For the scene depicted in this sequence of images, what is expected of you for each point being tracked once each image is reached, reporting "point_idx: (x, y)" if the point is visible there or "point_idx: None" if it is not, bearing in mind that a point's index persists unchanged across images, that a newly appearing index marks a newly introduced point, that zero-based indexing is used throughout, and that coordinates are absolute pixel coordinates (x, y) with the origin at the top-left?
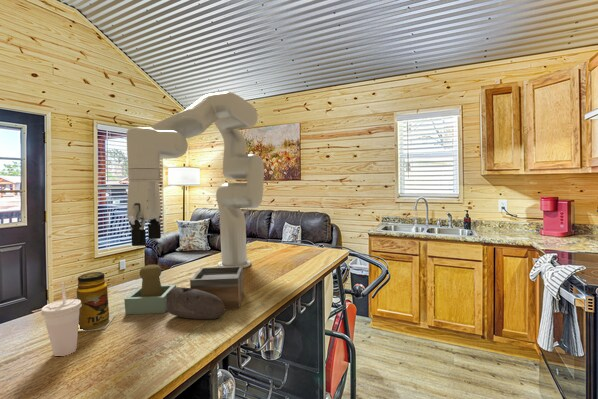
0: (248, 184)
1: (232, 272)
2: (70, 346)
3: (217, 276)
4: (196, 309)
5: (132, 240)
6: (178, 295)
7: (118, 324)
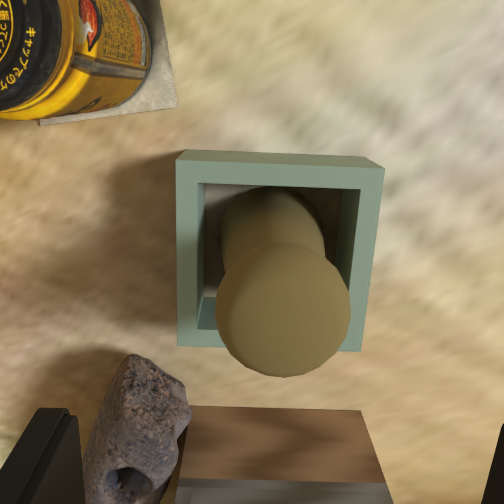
0: None
1: None
2: None
3: None
4: None
5: (13, 458)
6: (94, 448)
7: (86, 163)
